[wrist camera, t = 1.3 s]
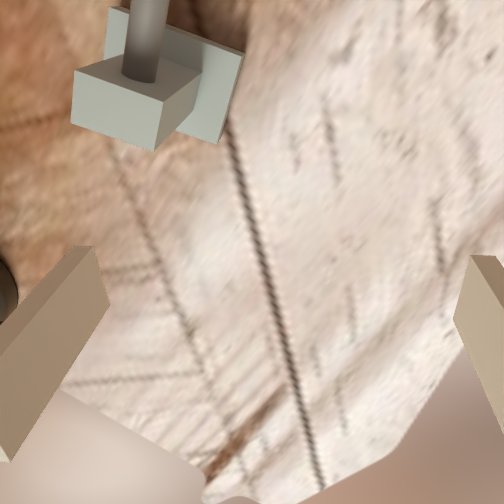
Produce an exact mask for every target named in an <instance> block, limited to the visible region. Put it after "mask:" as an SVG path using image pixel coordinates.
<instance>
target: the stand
mask: <svg viewBox="0 0 504 504" xmlns="http://www.w3.org/2000/svg"><path fill="white" fill-rule="evenodd" d="M169 2H170V0H131V5H130V10H129V9H126V8H124V7H121V6H114V7H109V12H108V21H107V30H106V39H105V47H104V56H103V61H100V62H97V63H94V64H91V65H88V66H85V67H83V68H80V69H77V70H75V73H74V86H73V99H72V111H71V123H72V124H75V125H78V126H81V127H84V128H86V129H89V130H92V131H95V132H98V133H101V134H104V135H106V136H109V137H112V138H115V139H118V140H121V141H123V142H126V143H129V144H132V145H135V146H138V147H141V148H143V149H146V150H149V151H152V152H154V151H155V150H156V149H157V148H158V147H159V146H160V145H161V144H162V143H163V142H164V141H165V140H166V139H167V138H168V137H169V135H170V134H171V133H172V132H173V131H174V130H176V131H178V132H181V133H184V134H187V135H190V136H192V137H195V138H198V139H201V140H204V141H206V142H209V143H212V144H215V145H217V143H218V142H219V140H220V138H221V135H222V132H223V128H224V125H225V121H226V118H227V115H228V111H229V108H230V104H231V101H232V97H233V94H234V90H235V87H236V83H237V80H238V76H239V73H240V69H241V66H242V62H243V59H244V55H245V53H243V52H241V51H238V50H235V49H233V48H230V47H227V46H225V45H222V44H219V43H217V42H214V41H211V40H209V39H206V38H203V37H201V36H198V35H195V34H193V33H190V32H187V31H185V30H182V29H179V28H177V27H174V26H171V25H169V24H166V19H167V13H168V8H169Z"/></svg>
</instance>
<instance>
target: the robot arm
mask: <svg viewBox="0 0 504 504" xmlns="http://www.w3.org/2000/svg"><path fill="white" fill-rule="evenodd" d="M17 301H18V296H17V290H16V286H15V283H14V281H13V279H12V277H11V275H10V273H9V271H8V270H7V268H6V267H5V265H4V264H3V263H2V262H1V260H0V461H1V462H11V461H12V459H13V458H14V456H15V454H16V453H17V451H18V450H19V448H20V447H21V445H22V443H23V442H24V440H25V439H26V437H27V435H28V434H29V432H30V431H31V429H32V428H33V426H34V424H35V423H36V421H37V420H38V418H39V416H40V414H41V413H42V412H43V410H44V409H45V407H46V405H47V404H48V402H49V401H50V399H51V398H52V396H53V394H54V393H55V391H56V390H57V388H58V387H59V385H60V383H61V382H62V380H63V379H64V377H65V375H66V374H67V372H68V371H69V369H70V368H71V366H72V364H73V363H74V361H75V360H76V358H77V357H78V355H79V353H80V352H81V350H82V349H83V347H84V345H85V344H86V342H87V341H88V339H89V338H90V336H91V334H92V333H93V331H94V330H95V328H96V326H97V325H98V323H99V322H100V320H101V319H102V317H103V315H104V314H105V312H106V311H107V309H108V308H109V306H110V303H109V299H108V296H107V292H106V289H105V285H104V282H103V278H102V275H101V271H100V268H99V264H98V261H97V257H96V254H95V250H94V247H93V246H73V247H72V248H71V249H70V250H69V252H68V253H67V254H66V255H65V256H64V257H63V258H62V259H61V260H60V261H59V262H58V263H57V265H56V266H55V267H54V268H53V269H52V270H51V271H50V272H49V273H48V274H47V275H46V276H45V278H44V279H43V280H42V281H41V282H40V283H39V284H38V285H37V286H36V287H35V288H34V289H33V291H32V292H31V293H30V294H29V295H28V296H27V297H26V298H25V299H24V300H23V301H22V302H21V304H20V305H19V306H18V307H17ZM16 307H17V308H16ZM453 321H454V323H455V325H456V328H457V330H458V332H459V334H460V337H461V339H462V341H463V343H464V346H465V348H466V350H467V352H468V355H469V357H470V359H471V361H472V364H473V366H474V368H475V371H476V373H477V375H478V377H479V380H480V382H481V384H482V387H483V389H484V391H485V393H486V396H487V398H488V400H489V402H490V405H491V407H492V409H493V411H494V414H495V416H496V418H497V421H498V423H499V425H500V427H501V430H502V432H503V434H504V268H503V266H502V265H501V263H500V262H499V261H498V259H497V258H496V256H483V255H470V259H469V262H468V266H467V270H466V273H465V277H464V280H463V284H462V288H461V291H460V295H459V299H458V302H457V306H456V309H455V313H454V317H453Z"/></svg>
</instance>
